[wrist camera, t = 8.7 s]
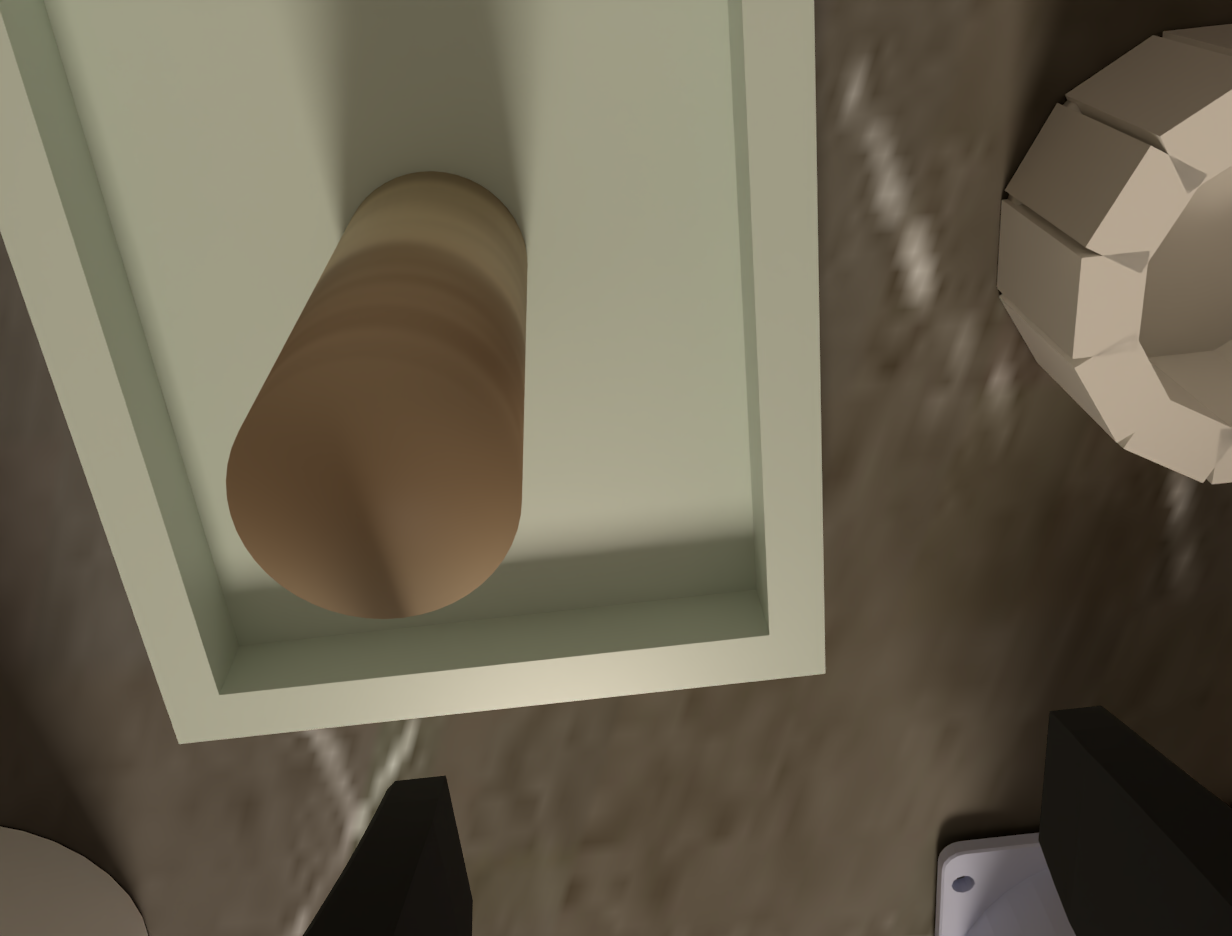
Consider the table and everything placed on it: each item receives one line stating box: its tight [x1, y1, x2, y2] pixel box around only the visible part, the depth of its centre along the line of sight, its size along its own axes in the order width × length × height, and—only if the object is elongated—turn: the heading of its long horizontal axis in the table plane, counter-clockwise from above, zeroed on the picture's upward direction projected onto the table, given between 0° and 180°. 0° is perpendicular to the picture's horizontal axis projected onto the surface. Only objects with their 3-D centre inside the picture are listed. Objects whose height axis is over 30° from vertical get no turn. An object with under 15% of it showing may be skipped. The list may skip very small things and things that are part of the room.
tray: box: [0, 0, 825, 744], centre depth 19 cm, size 16×12×2 cm
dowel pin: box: [226, 171, 528, 619], centre depth 15 cm, size 3×3×8 cm
